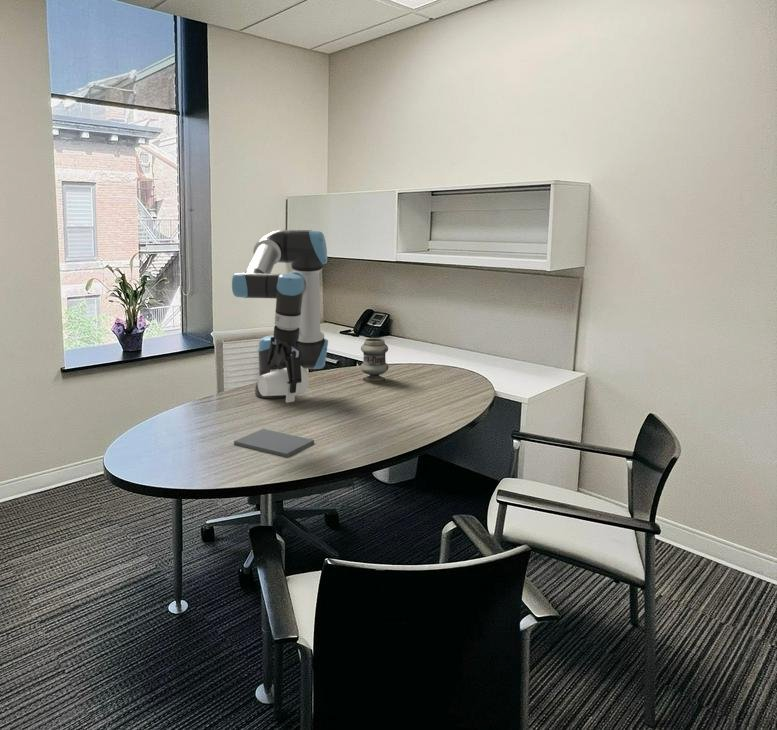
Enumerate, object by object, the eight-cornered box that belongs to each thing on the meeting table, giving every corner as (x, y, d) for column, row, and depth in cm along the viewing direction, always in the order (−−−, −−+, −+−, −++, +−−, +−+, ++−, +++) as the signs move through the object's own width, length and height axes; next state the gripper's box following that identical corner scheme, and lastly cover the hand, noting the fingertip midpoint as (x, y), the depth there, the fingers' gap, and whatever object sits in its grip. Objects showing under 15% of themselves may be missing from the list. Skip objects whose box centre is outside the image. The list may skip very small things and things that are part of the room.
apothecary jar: (355, 378, 280) (356, 337, 276) (380, 375, 286) (381, 336, 282) (367, 384, 270) (368, 342, 266) (392, 382, 275) (393, 341, 271)
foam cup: (252, 371, 196) (289, 366, 204) (257, 401, 196) (294, 394, 204) (267, 369, 188) (305, 363, 197) (272, 400, 189) (309, 393, 197)
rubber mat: (234, 444, 196) (233, 441, 196) (263, 431, 208) (263, 428, 208) (286, 456, 187) (286, 453, 187) (314, 442, 199) (314, 439, 199)
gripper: (257, 316, 195) (253, 383, 203) (295, 339, 180) (289, 411, 188) (279, 314, 200) (274, 379, 208) (318, 337, 185) (311, 407, 193)
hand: (281, 394), depth 198 cm, fingers closed on foam cup, 9 cm apart
